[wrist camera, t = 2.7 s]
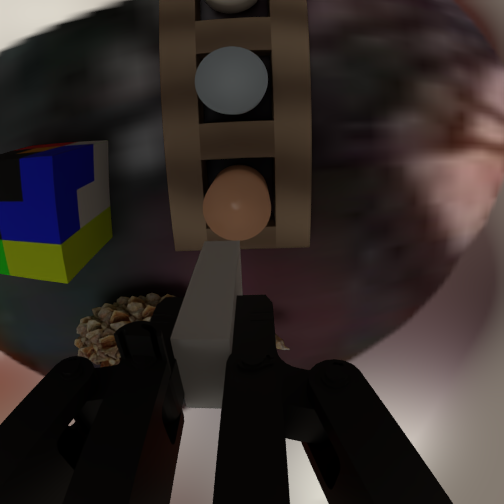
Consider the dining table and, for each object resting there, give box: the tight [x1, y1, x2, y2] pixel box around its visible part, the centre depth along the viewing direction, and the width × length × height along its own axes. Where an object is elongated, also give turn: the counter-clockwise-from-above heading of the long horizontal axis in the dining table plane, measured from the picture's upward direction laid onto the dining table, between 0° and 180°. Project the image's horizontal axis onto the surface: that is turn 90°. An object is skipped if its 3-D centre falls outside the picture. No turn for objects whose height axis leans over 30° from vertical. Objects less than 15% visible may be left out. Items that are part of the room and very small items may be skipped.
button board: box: [159, 0, 312, 251], centre depth 25 cm, size 28×12×3 cm, turn 2°
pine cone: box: [75, 293, 290, 367], centre depth 31 cm, size 22×10×10 cm, turn 97°
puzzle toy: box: [0, 140, 113, 283], centre depth 25 cm, size 10×10×10 cm
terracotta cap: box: [203, 164, 271, 241], centre depth 25 cm, size 5×5×5 cm
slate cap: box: [195, 46, 268, 114], centre depth 21 cm, size 5×5×5 cm
